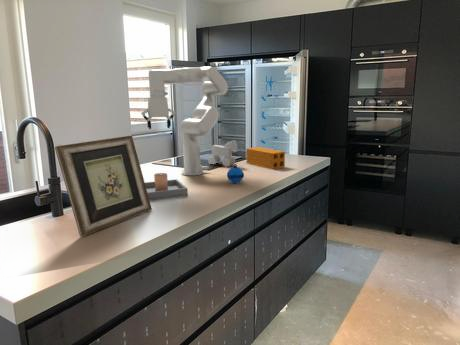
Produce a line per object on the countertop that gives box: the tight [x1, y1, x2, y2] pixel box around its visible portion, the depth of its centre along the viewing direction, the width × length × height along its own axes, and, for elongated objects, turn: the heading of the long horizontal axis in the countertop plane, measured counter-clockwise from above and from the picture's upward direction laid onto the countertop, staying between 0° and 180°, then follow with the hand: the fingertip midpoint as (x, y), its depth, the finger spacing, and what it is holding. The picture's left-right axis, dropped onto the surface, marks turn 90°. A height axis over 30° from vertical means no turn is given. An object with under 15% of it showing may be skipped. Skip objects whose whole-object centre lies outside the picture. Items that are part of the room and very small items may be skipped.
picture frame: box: [54, 135, 153, 237], centre depth 135 cm, size 33×10×30 cm, turn 148°
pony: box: [207, 139, 239, 168], centre depth 237 cm, size 20×10×17 cm, turn 58°
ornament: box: [226, 163, 245, 184], centre depth 191 cm, size 9×9×10 cm
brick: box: [245, 146, 286, 170], centre depth 236 cm, size 26×10×10 cm, turn 35°
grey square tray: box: [144, 178, 189, 201], centre depth 175 cm, size 20×20×4 cm
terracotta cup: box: [153, 172, 169, 191], centre depth 175 cm, size 6×6×8 cm
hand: (159, 128), depth 192 cm, fingers open, 9 cm apart
